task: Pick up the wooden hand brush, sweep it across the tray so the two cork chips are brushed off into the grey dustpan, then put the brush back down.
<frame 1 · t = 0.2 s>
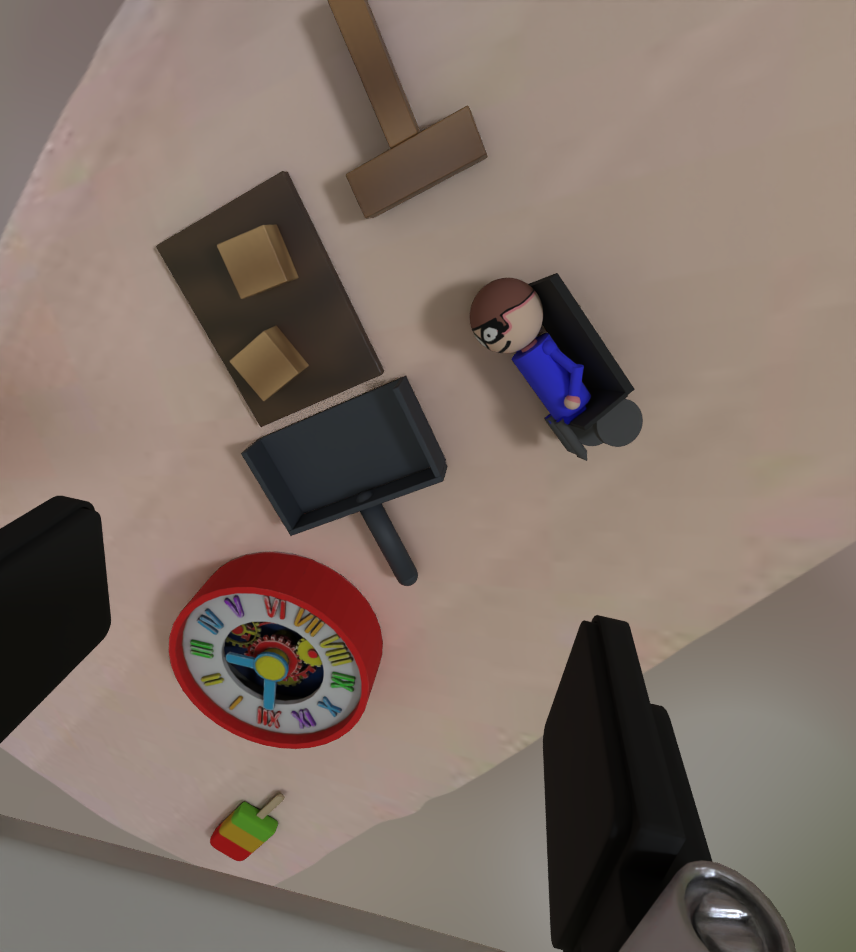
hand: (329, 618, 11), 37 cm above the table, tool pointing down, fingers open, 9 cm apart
cork chip A: (265, 260, 44), point 1 cm above the table, touching tray
brush: (421, 167, 40), on the table
toy clock: (290, 632, 60), on the table
tray: (275, 309, 46), on the table
character figurine: (554, 353, 45), on the table
dustpan: (349, 449, 50), on the table
cork chip B: (276, 359, 47), point 1 cm above the table, touching tray
popsicle: (256, 814, 74), on the table
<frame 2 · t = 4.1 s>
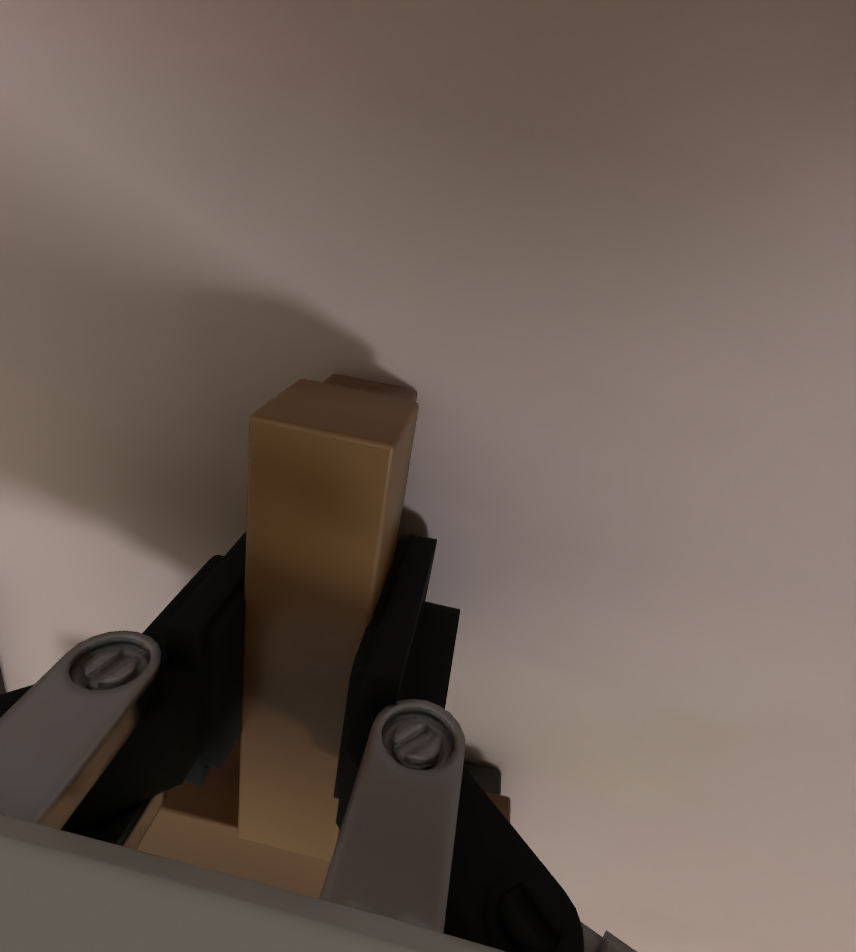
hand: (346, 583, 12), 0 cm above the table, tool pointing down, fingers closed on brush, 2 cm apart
brush: (327, 763, 15), on the table, touching gripper
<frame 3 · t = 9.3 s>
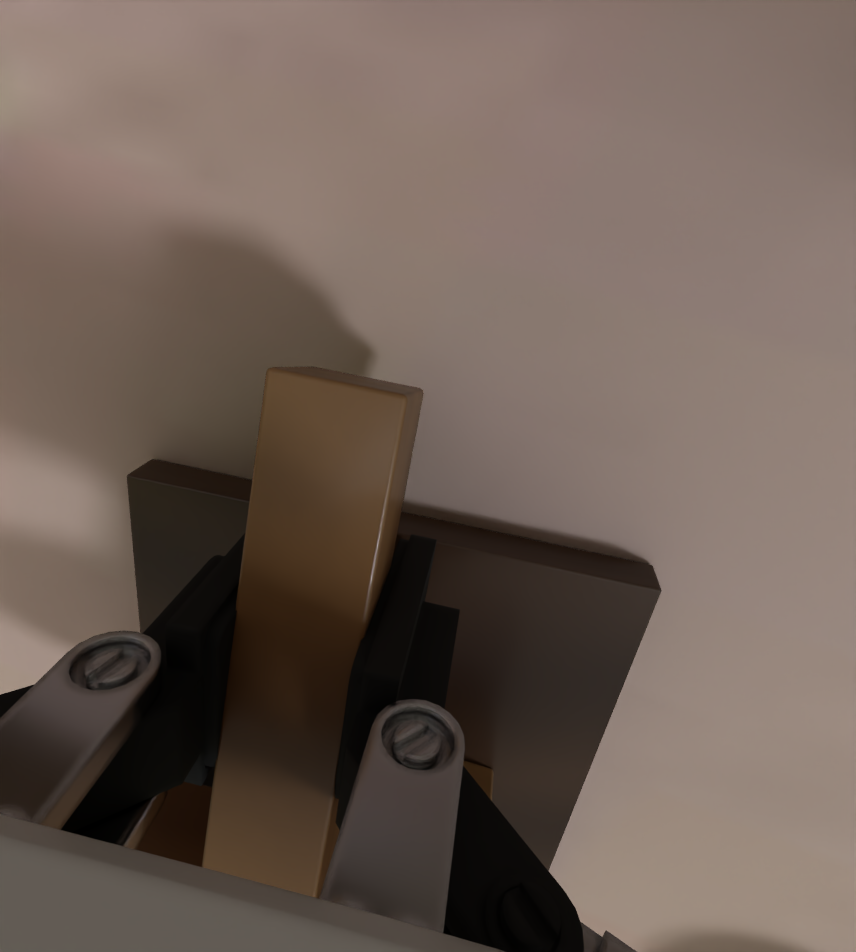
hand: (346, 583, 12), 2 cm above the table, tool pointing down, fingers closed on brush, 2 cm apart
cork chip A: (405, 794, 16), point 1 cm above the table, touching brush, cork chip B, tray
brush: (301, 836, 13), point 4 cm above the table, tilted 14°, touching cork chip A, gripper
tray: (360, 745, 17), on the table
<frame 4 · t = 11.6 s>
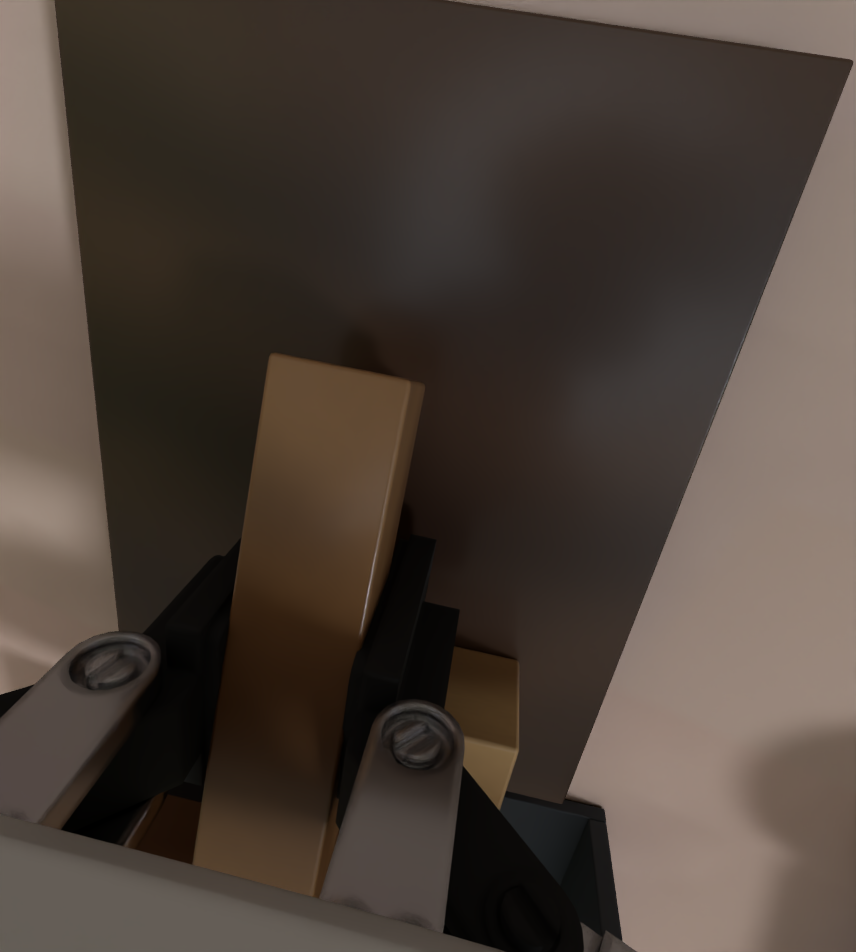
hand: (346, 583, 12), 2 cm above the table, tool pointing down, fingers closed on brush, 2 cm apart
cork chip A: (421, 702, 14), point 1 cm above the table, touching gripper
brush: (293, 857, 12), point 4 cm above the table, tilted 17°, touching gripper
tray: (381, 465, 13), on the table
dustpan: (333, 832, 18), on the table
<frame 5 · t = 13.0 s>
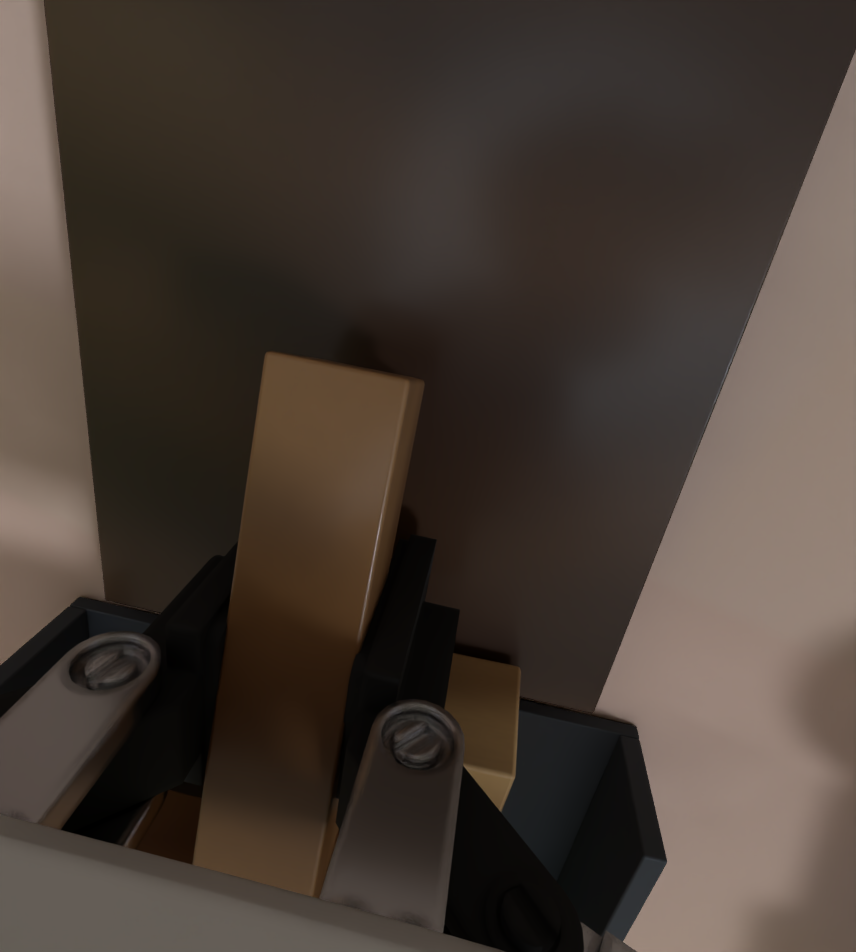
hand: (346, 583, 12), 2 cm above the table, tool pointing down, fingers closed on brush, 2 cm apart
cork chip A: (424, 696, 14), point 1 cm above the table, tilted 12°, touching dustpan, tray
brush: (294, 851, 12), point 4 cm above the table, tilted 15°, touching gripper, tray
tray: (395, 308, 11), on the table
dustpan: (335, 762, 17), on the table
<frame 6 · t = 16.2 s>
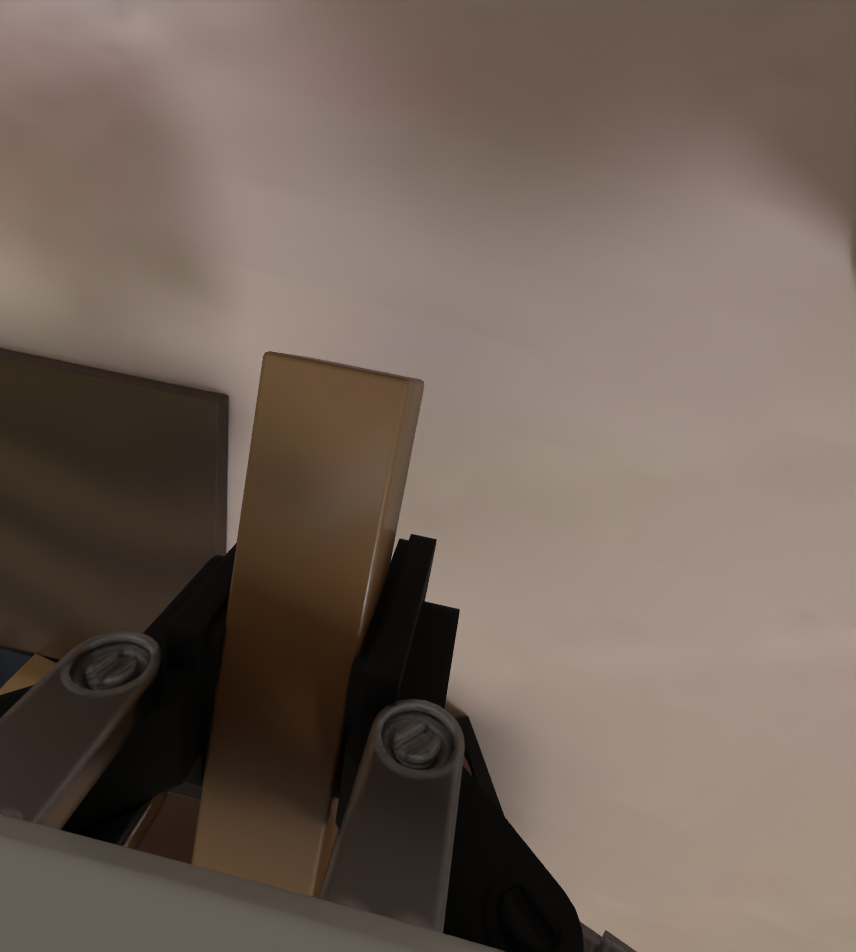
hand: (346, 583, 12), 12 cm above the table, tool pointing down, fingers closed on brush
brush: (293, 853, 12), point 14 cm above the table, tilted 15°, touching gripper
tray: (105, 530, 27), on the table
character figurine: (451, 788, 31), on the table
dustpan: (123, 723, 33), on the table
cork chip B: (68, 688, 31), point 1 cm above the table, tilted 9°, touching dustpan, tray
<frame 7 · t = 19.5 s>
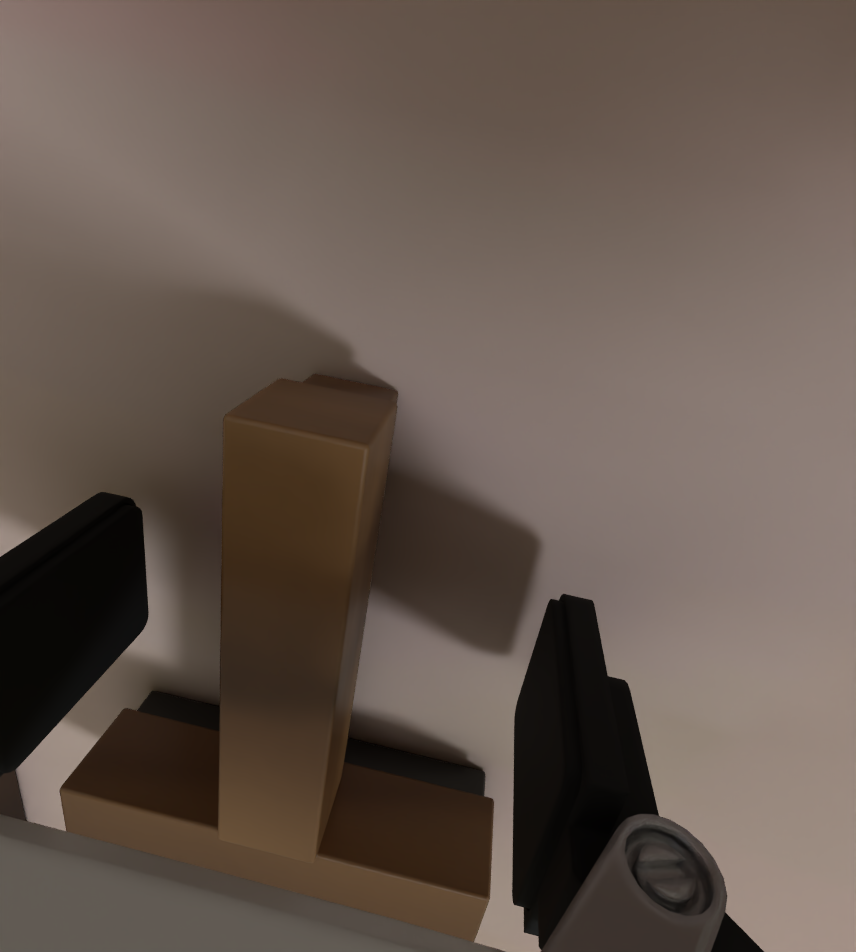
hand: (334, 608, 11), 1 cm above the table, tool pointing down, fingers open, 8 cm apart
brush: (311, 764, 15), on the table
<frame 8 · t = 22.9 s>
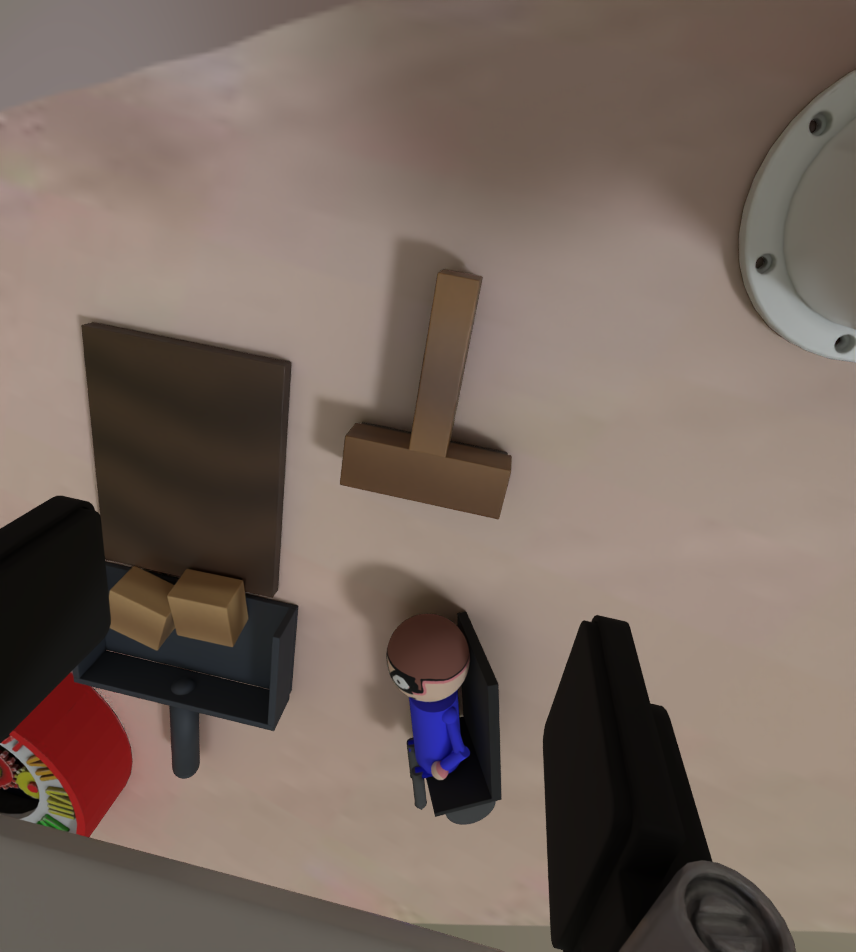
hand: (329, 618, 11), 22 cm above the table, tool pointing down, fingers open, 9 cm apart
cork chip A: (218, 594, 39), point 1 cm above the table, tilted 12°, touching dustpan, tray
brush: (430, 457, 34), on the table
toy clock: (25, 727, 50), on the table
tray: (193, 466, 36), on the table
character figurine: (453, 674, 40), on the table
dustpan: (196, 626, 42), on the table
cork chip B: (156, 595, 40), point 1 cm above the table, tilted 9°, touching dustpan, tray
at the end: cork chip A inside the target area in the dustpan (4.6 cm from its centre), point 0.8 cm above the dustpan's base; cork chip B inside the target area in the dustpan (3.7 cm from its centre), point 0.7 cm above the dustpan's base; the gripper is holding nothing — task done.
